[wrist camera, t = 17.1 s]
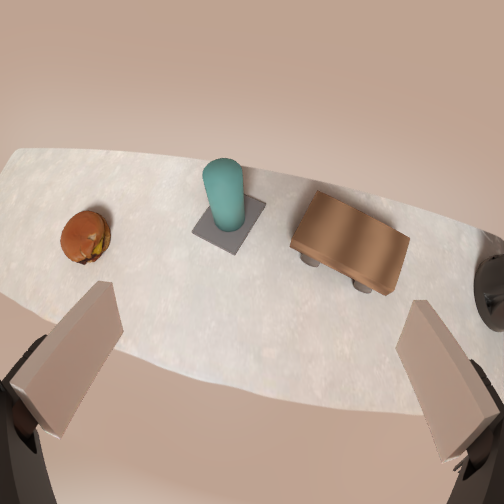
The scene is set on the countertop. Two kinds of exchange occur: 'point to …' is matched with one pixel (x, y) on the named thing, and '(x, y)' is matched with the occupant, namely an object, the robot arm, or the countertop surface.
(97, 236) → the burger
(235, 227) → the roller
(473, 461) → the robot arm
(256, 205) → the pad
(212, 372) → the countertop surface
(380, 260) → the slab
